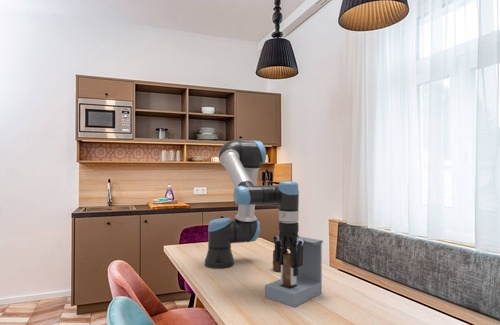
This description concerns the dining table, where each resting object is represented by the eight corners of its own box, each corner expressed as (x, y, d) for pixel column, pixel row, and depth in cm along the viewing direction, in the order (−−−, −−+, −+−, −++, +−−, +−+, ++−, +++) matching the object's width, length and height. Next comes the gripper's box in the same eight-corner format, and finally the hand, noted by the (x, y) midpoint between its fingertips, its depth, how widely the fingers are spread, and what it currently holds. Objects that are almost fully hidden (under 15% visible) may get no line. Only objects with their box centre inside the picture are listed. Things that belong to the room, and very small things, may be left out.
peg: (281, 293, 130) (281, 254, 130) (287, 291, 133) (287, 252, 133) (289, 296, 127) (289, 256, 127) (295, 293, 130) (295, 254, 130)
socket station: (263, 296, 131) (263, 241, 131) (291, 284, 144) (291, 235, 145) (295, 307, 120) (295, 248, 121) (322, 293, 134) (322, 240, 135)
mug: (296, 274, 159) (296, 253, 160) (281, 275, 157) (281, 255, 157) (283, 267, 171) (283, 248, 171) (270, 268, 168) (270, 249, 168)
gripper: (265, 220, 134) (265, 280, 133) (301, 225, 122) (301, 290, 122) (277, 218, 139) (277, 275, 139) (312, 222, 128) (312, 285, 127)
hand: (288, 282), depth 130 cm, fingers closed on peg, 4 cm apart
